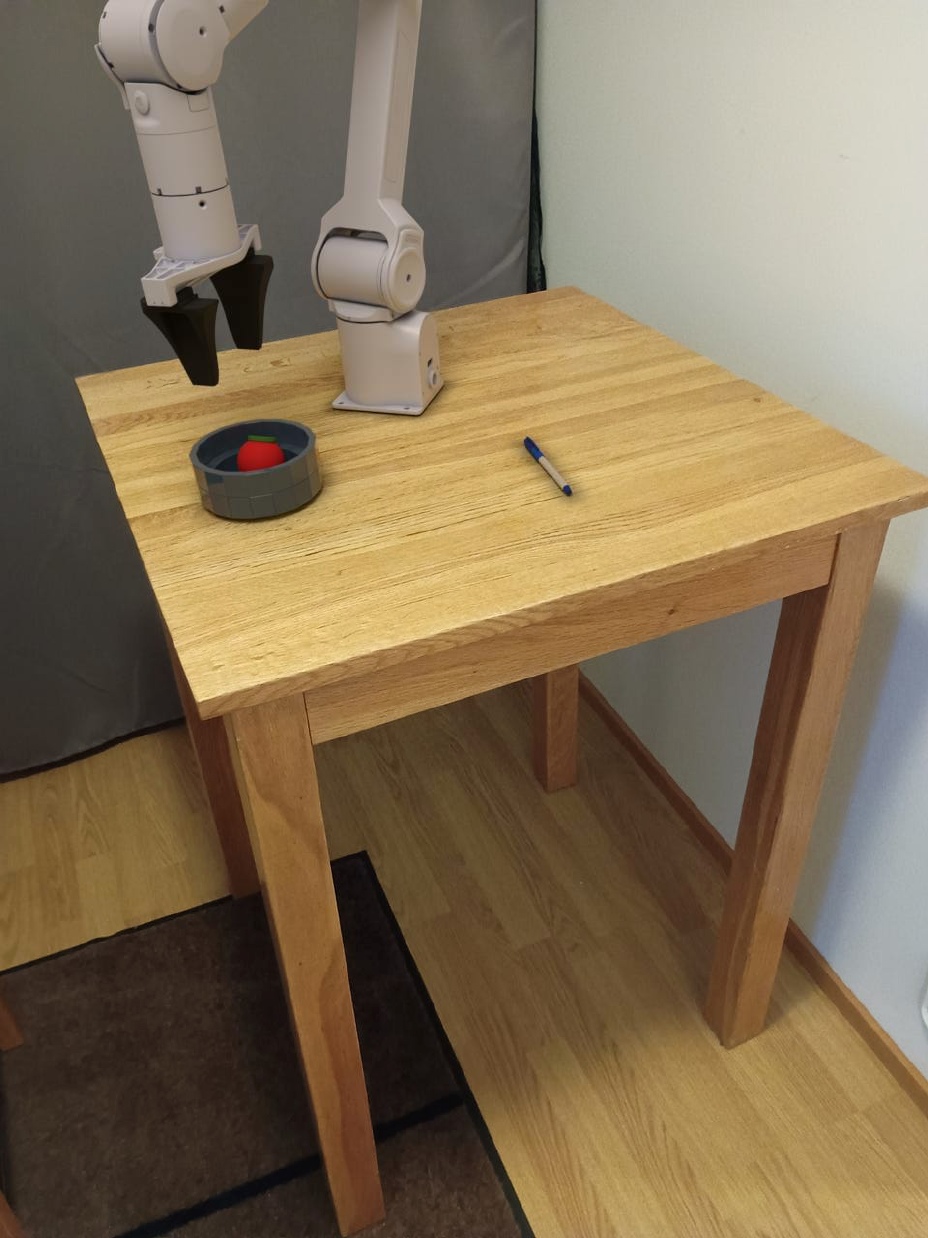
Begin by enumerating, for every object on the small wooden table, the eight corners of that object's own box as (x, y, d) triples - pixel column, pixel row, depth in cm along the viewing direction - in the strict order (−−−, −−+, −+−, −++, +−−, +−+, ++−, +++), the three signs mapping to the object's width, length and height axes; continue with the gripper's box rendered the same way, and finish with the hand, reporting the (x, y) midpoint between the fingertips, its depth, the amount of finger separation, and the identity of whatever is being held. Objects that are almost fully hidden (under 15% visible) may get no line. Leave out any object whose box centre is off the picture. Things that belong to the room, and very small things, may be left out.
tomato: (292, 486, 81) (294, 439, 80) (270, 487, 77) (272, 437, 76) (251, 482, 82) (253, 435, 81) (227, 483, 78) (229, 433, 77)
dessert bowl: (342, 469, 82) (335, 423, 80) (291, 530, 75) (281, 481, 72) (238, 459, 85) (228, 414, 83) (178, 517, 77) (165, 468, 75)
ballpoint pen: (520, 445, 85) (520, 435, 84) (529, 443, 85) (529, 433, 84) (566, 497, 76) (567, 486, 76) (576, 495, 77) (577, 484, 76)
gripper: (191, 165, 74) (226, 331, 83) (84, 211, 63) (137, 398, 72) (271, 165, 73) (299, 335, 81) (175, 213, 62) (218, 404, 70)
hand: (228, 365), depth 76 cm, fingers open, 7 cm apart
